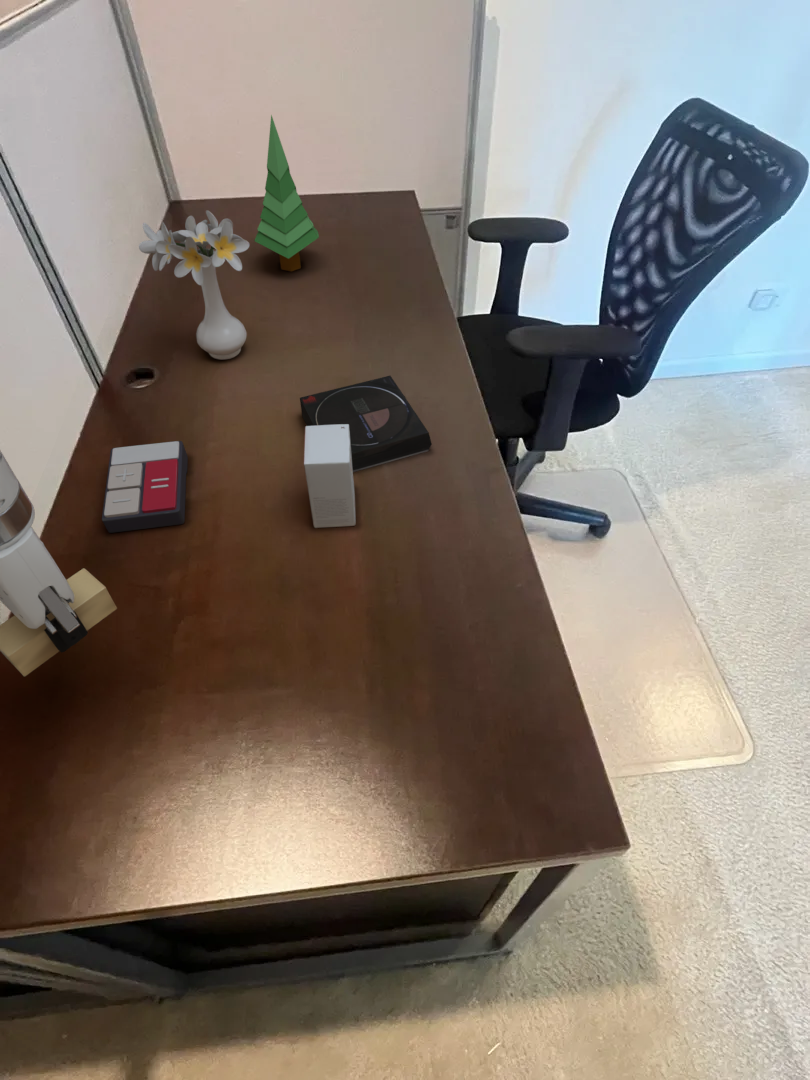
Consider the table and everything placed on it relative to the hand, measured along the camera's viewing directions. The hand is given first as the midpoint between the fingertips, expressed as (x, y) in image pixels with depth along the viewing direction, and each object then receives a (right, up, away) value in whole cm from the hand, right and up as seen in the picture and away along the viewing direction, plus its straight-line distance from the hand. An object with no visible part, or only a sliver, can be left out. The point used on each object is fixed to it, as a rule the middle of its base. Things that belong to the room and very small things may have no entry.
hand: (60, 628), depth 71 cm
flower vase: (+1, +45, +57) cm, 73 cm away
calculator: (-3, +16, +33) cm, 37 cm away
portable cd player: (+30, +27, +42) cm, 58 cm away
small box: (+26, +14, +31) cm, 42 cm away
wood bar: (0, 0, 0) cm, 0 cm away
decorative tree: (+11, +71, +79) cm, 107 cm away
